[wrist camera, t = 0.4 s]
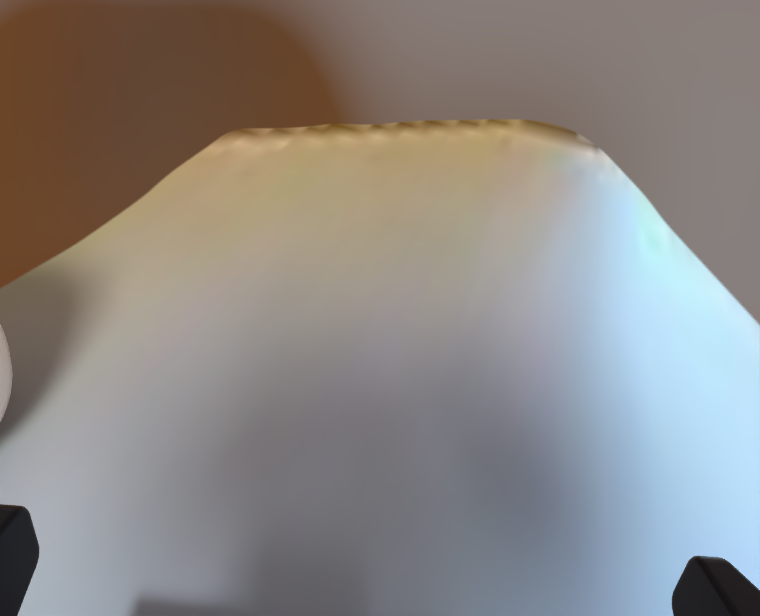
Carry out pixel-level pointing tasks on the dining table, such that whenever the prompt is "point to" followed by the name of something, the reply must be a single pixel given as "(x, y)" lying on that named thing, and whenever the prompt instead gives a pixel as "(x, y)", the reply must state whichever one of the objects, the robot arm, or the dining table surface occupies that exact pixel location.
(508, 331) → the dining table surface
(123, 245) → the dining table surface
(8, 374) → the lidded jar
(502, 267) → the dining table surface
